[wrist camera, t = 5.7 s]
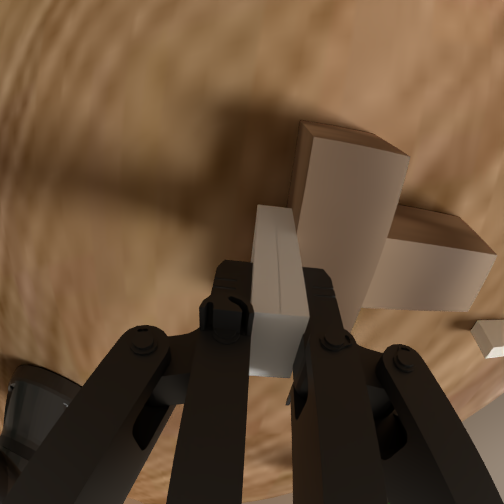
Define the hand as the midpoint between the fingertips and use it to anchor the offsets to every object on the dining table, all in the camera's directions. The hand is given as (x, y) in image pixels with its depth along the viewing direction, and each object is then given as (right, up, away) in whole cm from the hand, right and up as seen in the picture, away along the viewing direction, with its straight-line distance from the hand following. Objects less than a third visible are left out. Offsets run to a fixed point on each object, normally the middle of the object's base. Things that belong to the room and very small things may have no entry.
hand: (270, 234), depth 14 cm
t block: (+6, 0, +2) cm, 6 cm away
